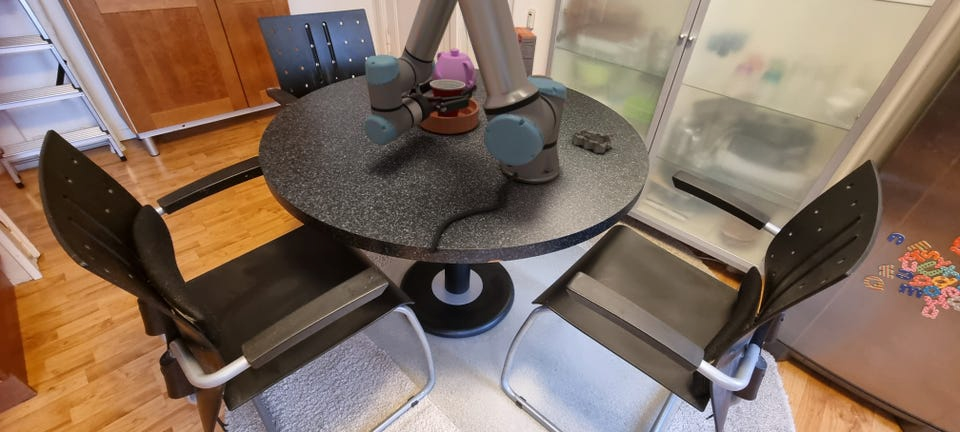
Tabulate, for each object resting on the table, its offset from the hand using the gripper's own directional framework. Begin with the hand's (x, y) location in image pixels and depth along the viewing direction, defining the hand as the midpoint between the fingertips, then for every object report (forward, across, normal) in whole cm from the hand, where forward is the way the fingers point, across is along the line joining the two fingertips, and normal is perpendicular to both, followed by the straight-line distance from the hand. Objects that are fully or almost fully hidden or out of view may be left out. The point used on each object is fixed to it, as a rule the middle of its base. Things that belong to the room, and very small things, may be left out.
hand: (451, 88), depth 114 cm
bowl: (-2, 0, -10) cm, 11 cm away
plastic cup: (-2, 0, -10) cm, 10 cm away
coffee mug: (+27, +20, -11) cm, 35 cm away
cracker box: (+40, +7, -11) cm, 42 cm away
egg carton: (+6, +44, -11) cm, 46 cm away
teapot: (+26, -16, -11) cm, 32 cm away
